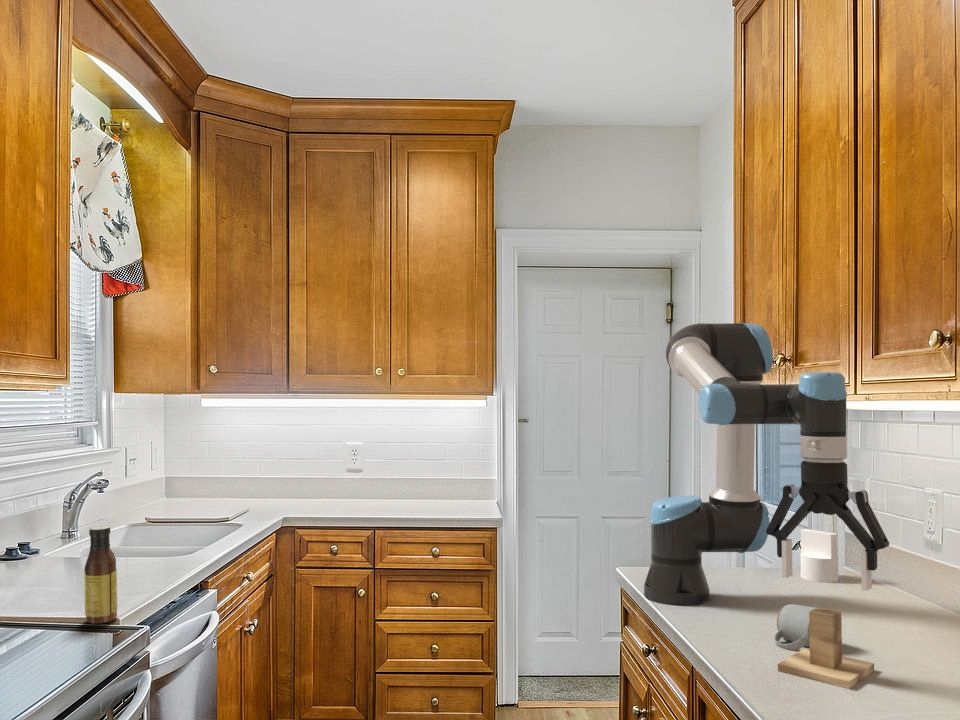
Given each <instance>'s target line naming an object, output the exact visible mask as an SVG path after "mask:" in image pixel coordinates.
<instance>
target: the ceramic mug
mask: <svg viewBox="0 0 960 720" xmlns="http://www.w3.org/2000/svg"><path fill="white" fill-rule="evenodd" d="M816 608H817V607H813V606H807V605H802V604H798V603H797V604H796V603H795V604H794V603H793V604H792V603H791V604H789V603H788V604H786V605H783V607H782V608H781V609H780V610H779V612H778V613H777V617H776V629H777V632H776V633H775V634H774V636H773V640H774V644H775V646H777V647H778V648H780V649H784V650H788V651H799V650H800V649H802V648H809V649H810V628H809V612H810V611H812V610H814V609H816ZM781 639H783V640H786V641H788V642H789V643H782V642H780V641H781Z"/></svg>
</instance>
